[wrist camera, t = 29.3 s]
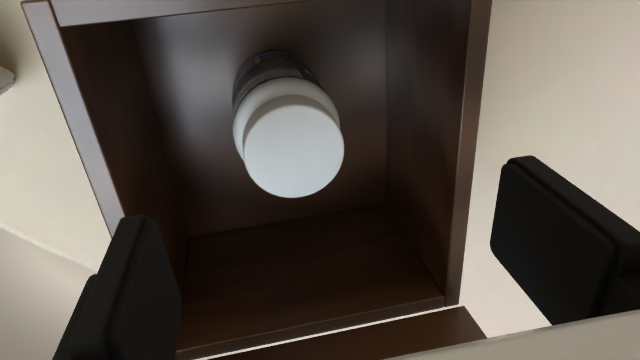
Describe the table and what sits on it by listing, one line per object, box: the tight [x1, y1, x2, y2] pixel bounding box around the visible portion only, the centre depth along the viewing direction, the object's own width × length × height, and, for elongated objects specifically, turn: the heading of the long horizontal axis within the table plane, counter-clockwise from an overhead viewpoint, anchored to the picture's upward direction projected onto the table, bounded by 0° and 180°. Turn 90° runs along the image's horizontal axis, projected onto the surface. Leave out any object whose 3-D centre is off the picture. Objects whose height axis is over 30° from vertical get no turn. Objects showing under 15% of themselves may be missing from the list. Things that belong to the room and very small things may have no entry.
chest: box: [21, 0, 492, 360], centre depth 21 cm, size 16×15×10 cm
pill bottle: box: [232, 52, 344, 198], centre depth 20 cm, size 5×5×8 cm
